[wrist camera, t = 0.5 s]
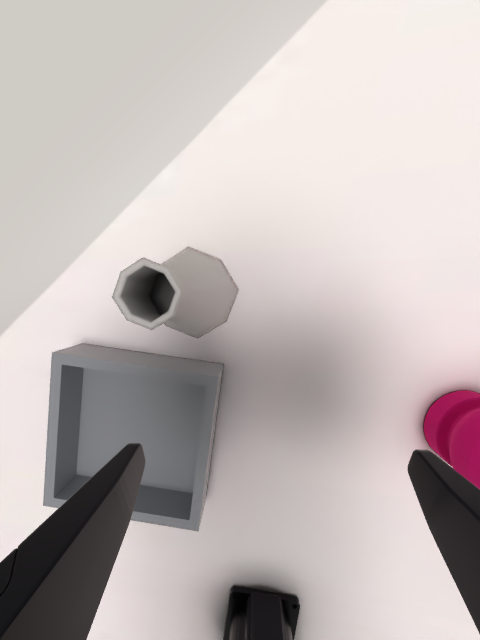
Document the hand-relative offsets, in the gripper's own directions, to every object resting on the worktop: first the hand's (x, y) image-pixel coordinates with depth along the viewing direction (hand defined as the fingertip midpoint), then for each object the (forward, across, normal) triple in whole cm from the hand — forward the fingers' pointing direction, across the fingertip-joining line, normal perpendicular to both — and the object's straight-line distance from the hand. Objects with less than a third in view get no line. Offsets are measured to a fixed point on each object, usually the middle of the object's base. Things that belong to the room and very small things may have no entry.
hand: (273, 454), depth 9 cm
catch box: (+11, +10, +10) cm, 18 cm away
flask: (+15, +6, 0) cm, 16 cm away
